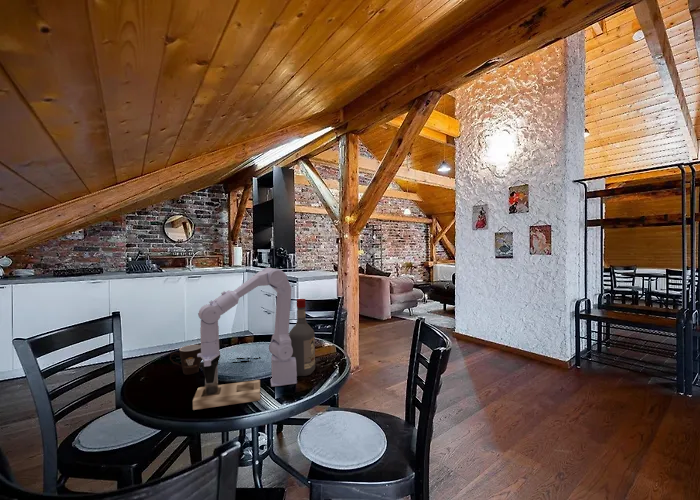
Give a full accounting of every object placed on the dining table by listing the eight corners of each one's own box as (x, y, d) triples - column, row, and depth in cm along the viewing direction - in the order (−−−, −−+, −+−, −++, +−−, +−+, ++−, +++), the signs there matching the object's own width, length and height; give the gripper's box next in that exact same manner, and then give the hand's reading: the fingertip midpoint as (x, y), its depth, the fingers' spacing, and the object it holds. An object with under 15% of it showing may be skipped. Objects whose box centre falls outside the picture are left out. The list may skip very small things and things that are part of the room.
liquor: (287, 375, 132) (286, 301, 132) (296, 366, 141) (295, 297, 140) (308, 377, 130) (307, 301, 129) (316, 368, 139) (315, 297, 138)
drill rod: (218, 388, 114) (218, 360, 114) (217, 393, 111) (216, 364, 110) (206, 390, 113) (205, 361, 113) (204, 395, 109) (203, 365, 109)
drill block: (260, 387, 121) (259, 379, 121) (260, 400, 112) (260, 391, 112) (198, 396, 115) (198, 387, 115) (192, 409, 106) (192, 400, 106)
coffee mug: (206, 367, 142) (206, 344, 142) (195, 375, 133) (194, 351, 133) (181, 367, 143) (180, 344, 143) (168, 375, 135) (167, 350, 134)
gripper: (200, 335, 117) (201, 373, 118) (193, 348, 103) (194, 390, 104) (221, 333, 119) (222, 370, 120) (217, 345, 105) (218, 387, 106)
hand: (211, 379), depth 112 cm, fingers closed on drill rod, 4 cm apart
